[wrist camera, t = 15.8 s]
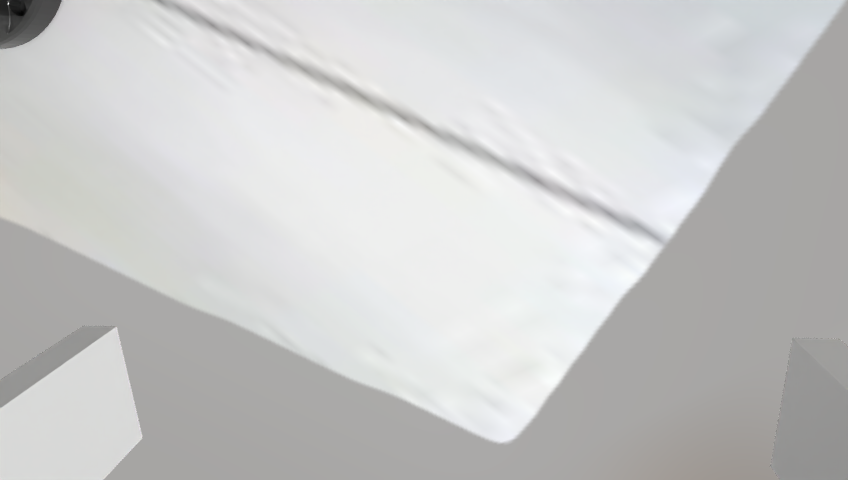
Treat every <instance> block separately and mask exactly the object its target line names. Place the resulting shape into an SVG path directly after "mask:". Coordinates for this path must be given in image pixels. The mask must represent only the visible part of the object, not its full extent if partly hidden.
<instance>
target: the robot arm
mask: <svg viewBox="0 0 848 480" xmlns="http://www.w3.org/2000/svg"><path fill="white" fill-rule="evenodd" d="M60 3H61V0H0V49H6V48H12V47H16V46H19V45H22V44H24V43H27V42H29V41H30V40H32V39H34V38H35V37H36V36H38V35H39V34H40V33H41V32H42V31H43V30H44V29H45V28H46V27H47V26H48V25H49V23H50V22H51V21H52V19H53V18H54V16H55V14H56V12H57V10H58V8H59V6H60ZM142 438H143V437H142V433H141V429H140V425H139V420H138V416H137V412H136V407H135V403H134V399H133V395H132V390H131V386H130V382H129V378H128V373H127V369H126V365H125V360H124V356H123V352H122V348H121V343H120V339H119V335H118V331H117V327H116V326H82V327H81V328H79V329H78V330H76V331H75V332H73V333H72V334H70V335H68V336H67V337H65V338H64V339H63V340H61V341H59V342H58V343H56V344H55V345H53V346H51V347H50V348H49V349H47V350H45V351H44V352H42V353H41V354H39V355H37V356H36V357H34V358H33V359H31V360H30V361H28V362H27V363H25V364H24V365H22V366H20V367H19V368H17V369H16V370H14V371H13V372H11V373H10V374H8V375H7V376H5V377H4V378H2V379H0V480H103V479H104V478H105V477H106V476H107V475H108V474H109V473H110V472H111V471H112V470H113V469H114V468H115V467H116V466H117V464H118V463H119V462H120V461H121V460H122V459H123V458H124V457H125V456H126V455H127V454H128V453H129V451H130V450H132V448H133V447H134V446H135V445H136V444H137V443H138V442H139V441H140V440H141V439H142ZM770 466H771V468H772V469H773V471H774V472H775V474H776V475H777V477H778V478H779V480H848V346H847V345H846V344H845V343H844V342H842V341H841V340H840V339H823V338H820V339H818V338H792V343H791V349H790V355H789V361H788V366H787V372H786V378H785V384H784V390H783V395H782V401H781V407H780V413H779V419H778V425H777V430H776V436H775V442H774V449H773V454H772V459H771V465H770Z"/></svg>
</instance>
